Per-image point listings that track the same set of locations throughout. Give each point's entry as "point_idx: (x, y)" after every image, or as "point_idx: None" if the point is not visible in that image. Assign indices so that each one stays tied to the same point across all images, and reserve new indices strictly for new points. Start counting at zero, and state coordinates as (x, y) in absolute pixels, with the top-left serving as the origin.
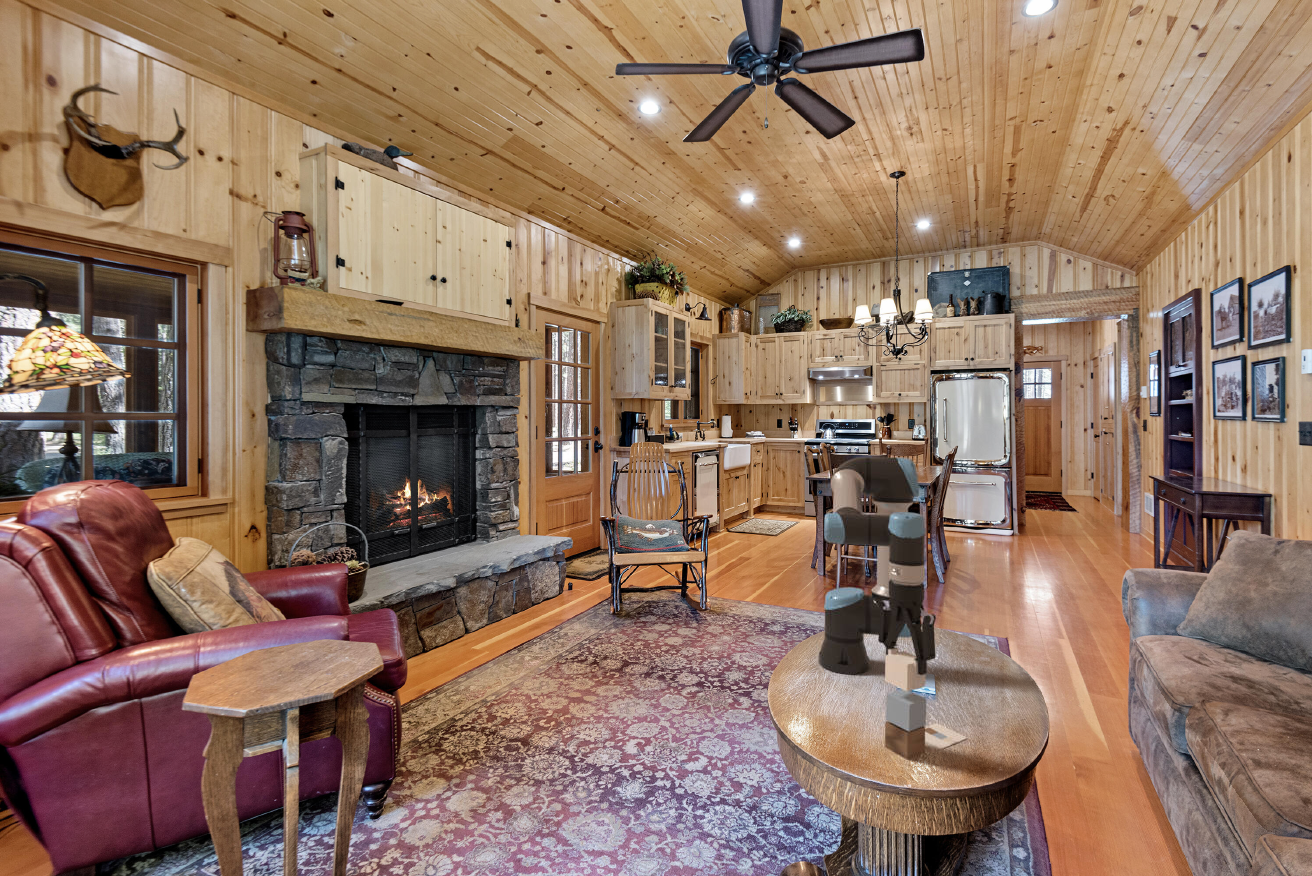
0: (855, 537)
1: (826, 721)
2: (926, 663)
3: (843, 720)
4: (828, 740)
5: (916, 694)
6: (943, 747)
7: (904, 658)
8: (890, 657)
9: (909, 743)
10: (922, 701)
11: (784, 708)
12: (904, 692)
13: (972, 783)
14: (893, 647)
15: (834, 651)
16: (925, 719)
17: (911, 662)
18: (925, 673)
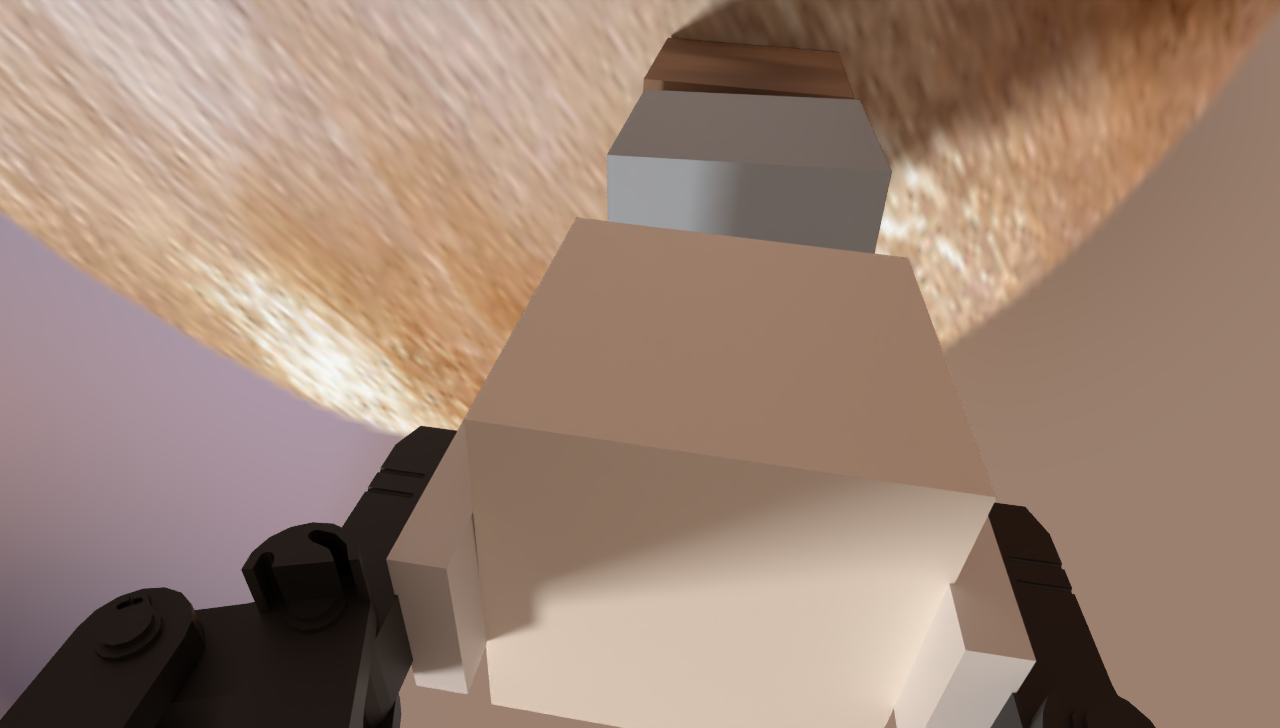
0: None
1: (310, 220)
2: (1097, 660)
3: (328, 132)
4: (470, 352)
5: (769, 165)
6: None
7: (709, 655)
8: (574, 717)
9: None
10: (877, 231)
11: (134, 285)
12: (671, 228)
13: (1188, 118)
14: (393, 615)
15: None
16: (863, 115)
17: (862, 699)
18: (1028, 526)
